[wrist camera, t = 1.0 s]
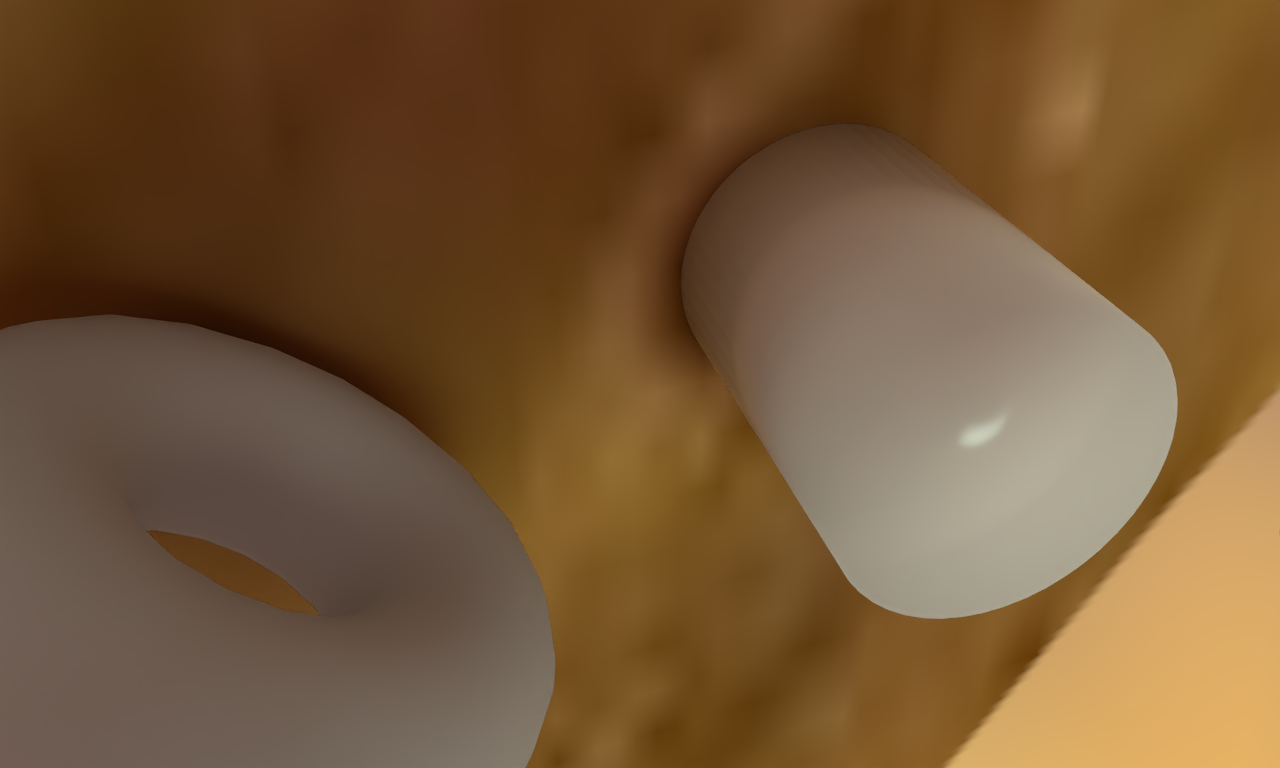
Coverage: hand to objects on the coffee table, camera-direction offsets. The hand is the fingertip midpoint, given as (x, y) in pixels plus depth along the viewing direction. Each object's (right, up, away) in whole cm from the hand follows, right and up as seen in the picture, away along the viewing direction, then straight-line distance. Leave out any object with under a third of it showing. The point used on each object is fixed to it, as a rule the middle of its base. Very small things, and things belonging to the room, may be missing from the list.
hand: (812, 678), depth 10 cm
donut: (-9, +3, +11) cm, 14 cm away
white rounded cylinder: (+2, +5, +13) cm, 14 cm away
